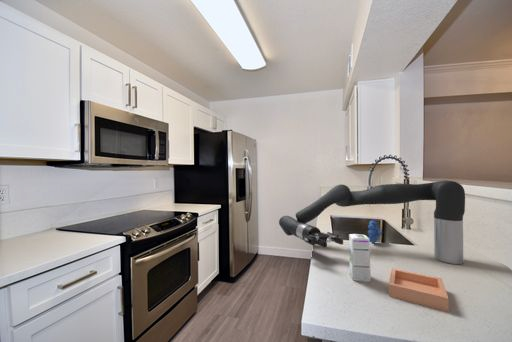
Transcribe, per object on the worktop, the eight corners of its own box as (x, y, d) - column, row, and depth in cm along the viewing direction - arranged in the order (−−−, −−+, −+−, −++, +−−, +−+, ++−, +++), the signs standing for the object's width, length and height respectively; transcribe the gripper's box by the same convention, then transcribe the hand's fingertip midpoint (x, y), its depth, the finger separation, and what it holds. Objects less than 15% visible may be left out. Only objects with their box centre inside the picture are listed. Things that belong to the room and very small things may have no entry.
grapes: (379, 247, 109) (379, 223, 109) (364, 244, 114) (364, 221, 114) (385, 242, 118) (385, 219, 118) (371, 239, 122) (371, 217, 122)
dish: (391, 278, 77) (391, 268, 77) (441, 289, 69) (441, 278, 70) (389, 295, 66) (389, 284, 66) (448, 311, 58) (448, 298, 58)
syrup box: (371, 282, 74) (370, 238, 74) (352, 280, 75) (352, 237, 76) (366, 274, 80) (366, 234, 80) (348, 273, 81) (348, 233, 81)
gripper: (295, 226, 99) (320, 236, 85) (320, 223, 105) (347, 232, 91) (295, 243, 99) (320, 255, 85) (320, 239, 105) (347, 250, 91)
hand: (334, 243), depth 88 cm, fingers open, 8 cm apart
